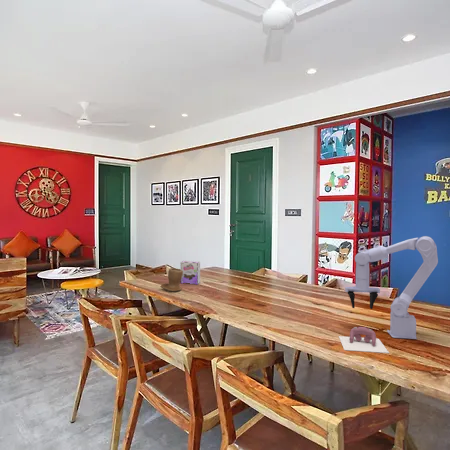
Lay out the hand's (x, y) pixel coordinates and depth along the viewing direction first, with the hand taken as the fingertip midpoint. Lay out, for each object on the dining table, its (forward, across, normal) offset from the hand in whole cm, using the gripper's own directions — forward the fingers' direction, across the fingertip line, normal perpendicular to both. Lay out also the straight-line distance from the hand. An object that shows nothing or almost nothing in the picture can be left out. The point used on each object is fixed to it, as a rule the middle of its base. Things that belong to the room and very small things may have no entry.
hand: (362, 307), depth 150 cm
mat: (+9, +4, +19) cm, 22 cm away
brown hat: (+10, +110, -57) cm, 124 cm away
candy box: (+10, +104, -79) cm, 131 cm away
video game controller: (+9, +4, +17) cm, 20 cm away
